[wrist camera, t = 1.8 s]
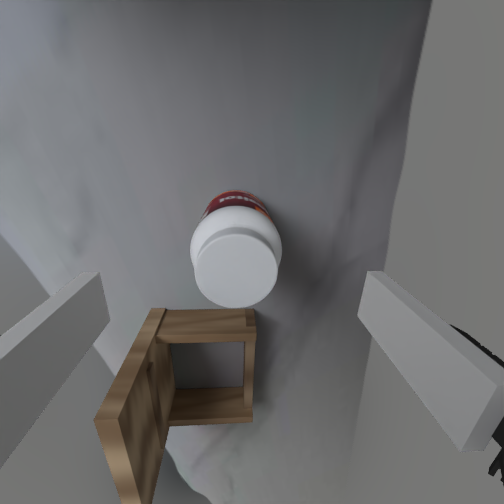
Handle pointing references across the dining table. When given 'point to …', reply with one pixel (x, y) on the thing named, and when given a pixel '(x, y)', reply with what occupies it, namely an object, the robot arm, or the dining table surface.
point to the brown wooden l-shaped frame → (168, 394)
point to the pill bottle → (236, 250)
